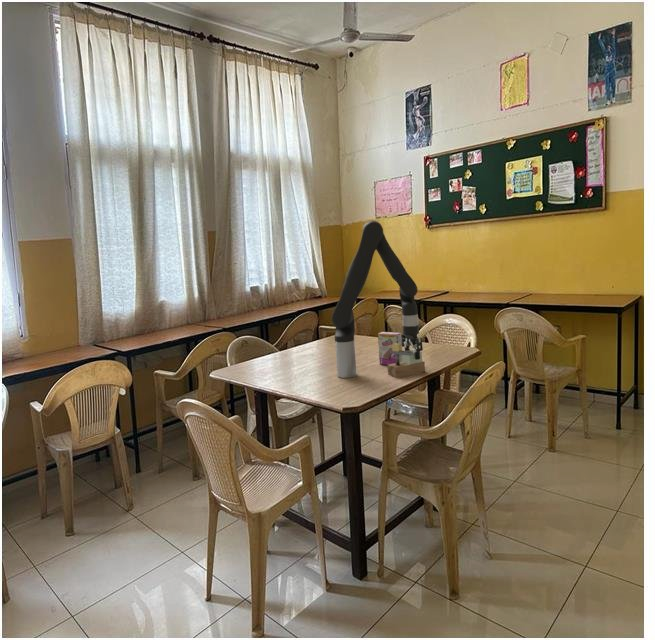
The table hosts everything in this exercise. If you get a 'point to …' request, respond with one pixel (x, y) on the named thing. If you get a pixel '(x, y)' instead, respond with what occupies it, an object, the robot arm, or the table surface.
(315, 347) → the table surface
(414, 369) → the case
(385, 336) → the candy bar box
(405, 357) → the pale green block
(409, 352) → the key
